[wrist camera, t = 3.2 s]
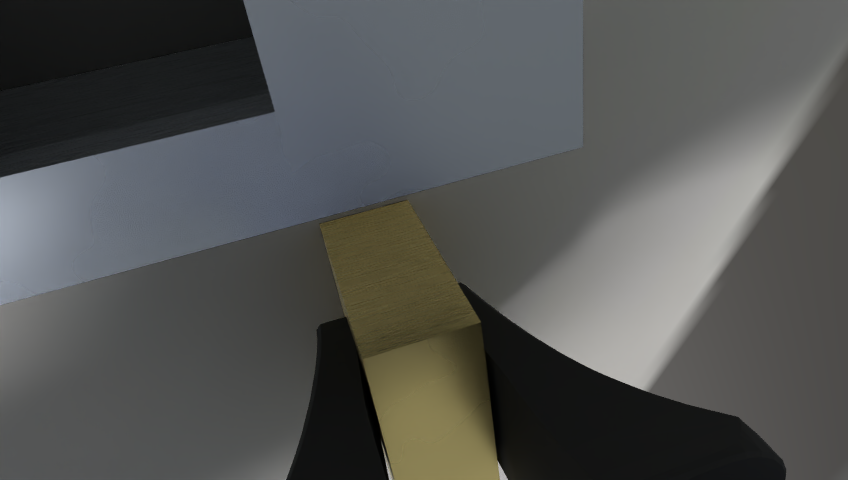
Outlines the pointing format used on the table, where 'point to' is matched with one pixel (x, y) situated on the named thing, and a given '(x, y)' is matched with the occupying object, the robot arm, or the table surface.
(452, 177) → the box
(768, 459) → the robot arm
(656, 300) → the table surface
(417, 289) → the block
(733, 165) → the table surface
